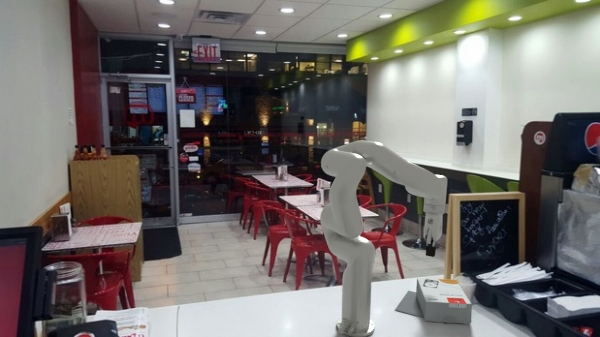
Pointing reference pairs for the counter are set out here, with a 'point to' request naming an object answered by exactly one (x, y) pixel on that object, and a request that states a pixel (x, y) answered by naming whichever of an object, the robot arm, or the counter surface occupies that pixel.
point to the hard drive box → (443, 301)
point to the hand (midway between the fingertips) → (430, 255)
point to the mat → (411, 305)
